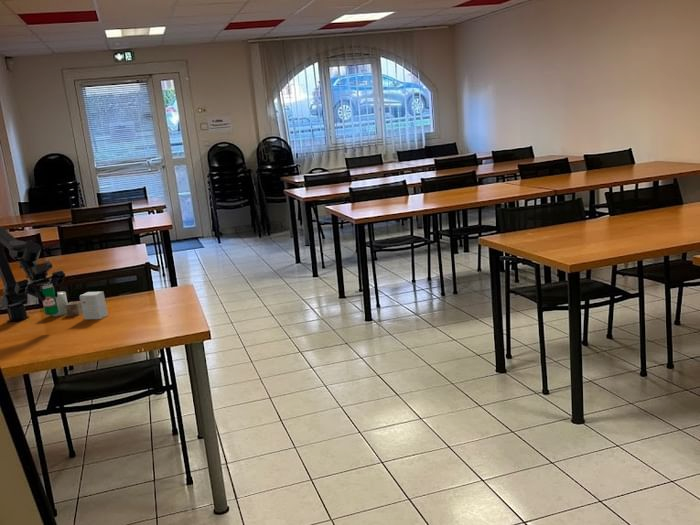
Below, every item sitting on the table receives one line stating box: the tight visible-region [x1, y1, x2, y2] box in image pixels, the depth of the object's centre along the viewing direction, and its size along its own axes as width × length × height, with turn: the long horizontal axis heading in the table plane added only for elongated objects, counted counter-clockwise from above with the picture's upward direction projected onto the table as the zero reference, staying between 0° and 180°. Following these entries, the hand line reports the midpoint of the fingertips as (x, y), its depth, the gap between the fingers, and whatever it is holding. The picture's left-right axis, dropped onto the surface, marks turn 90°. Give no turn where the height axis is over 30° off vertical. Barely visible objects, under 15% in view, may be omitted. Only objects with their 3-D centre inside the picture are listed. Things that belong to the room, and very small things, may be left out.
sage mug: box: [51, 291, 69, 317], centre depth 285 cm, size 8×7×9 cm
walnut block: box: [65, 300, 83, 317], centre depth 282 cm, size 5×5×5 cm
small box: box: [79, 290, 109, 320], centre depth 273 cm, size 8×6×10 cm
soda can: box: [39, 283, 59, 316], centre depth 259 cm, size 5×5×12 cm
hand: (50, 298), depth 258 cm, fingers closed on soda can, 5 cm apart
